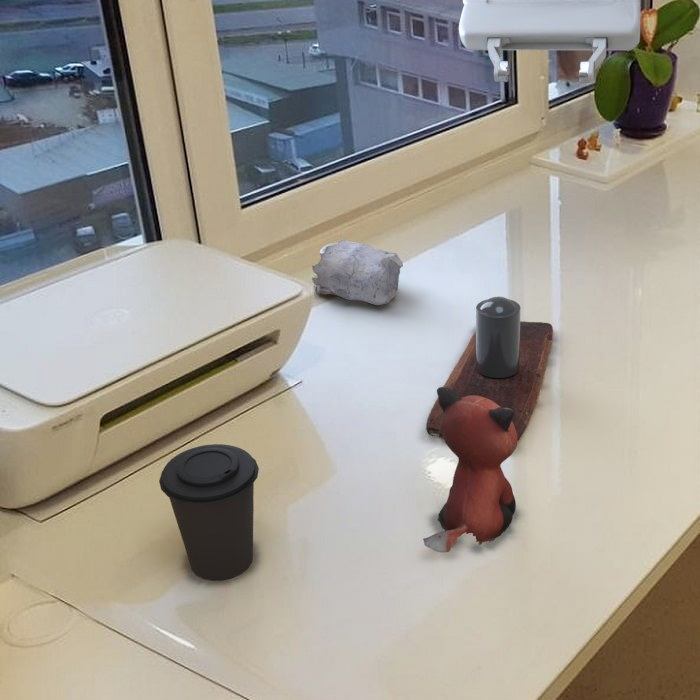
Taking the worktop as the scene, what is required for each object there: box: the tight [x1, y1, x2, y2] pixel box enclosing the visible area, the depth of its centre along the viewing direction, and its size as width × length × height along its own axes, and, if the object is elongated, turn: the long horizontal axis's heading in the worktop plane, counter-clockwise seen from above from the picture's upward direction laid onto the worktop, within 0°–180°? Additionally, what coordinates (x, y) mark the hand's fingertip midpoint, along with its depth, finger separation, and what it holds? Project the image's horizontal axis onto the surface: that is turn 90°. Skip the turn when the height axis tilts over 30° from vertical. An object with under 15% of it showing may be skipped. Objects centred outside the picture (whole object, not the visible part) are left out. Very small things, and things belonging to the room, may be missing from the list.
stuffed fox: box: [422, 386, 518, 553], centre depth 90 cm, size 8×11×12 cm
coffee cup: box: [158, 443, 260, 581], centre depth 89 cm, size 8×8×10 cm
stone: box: [311, 238, 404, 306], centre depth 134 cm, size 8×12×7 cm, turn 60°
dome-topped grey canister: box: [475, 296, 522, 378], centre depth 112 cm, size 5×5×8 cm
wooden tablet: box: [425, 320, 554, 443], centre depth 114 cm, size 26×2×10 cm
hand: (542, 79), depth 119 cm, fingers open, 8 cm apart
